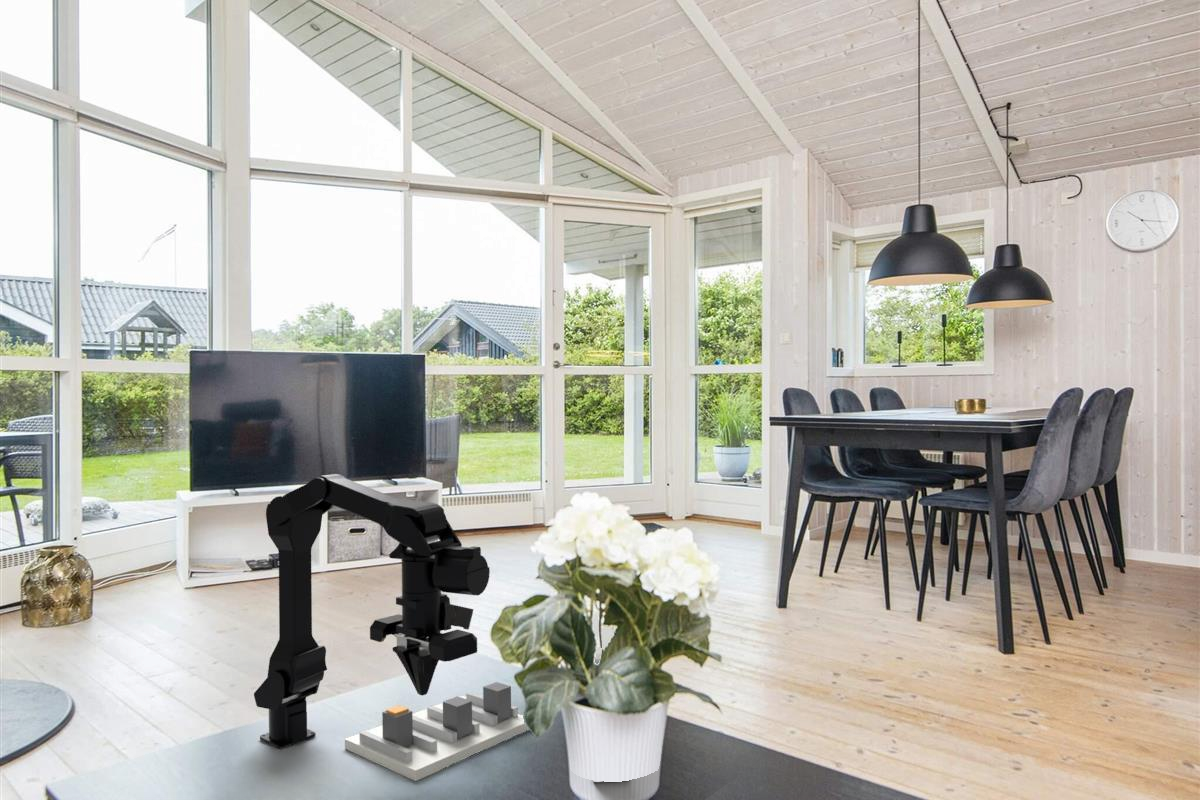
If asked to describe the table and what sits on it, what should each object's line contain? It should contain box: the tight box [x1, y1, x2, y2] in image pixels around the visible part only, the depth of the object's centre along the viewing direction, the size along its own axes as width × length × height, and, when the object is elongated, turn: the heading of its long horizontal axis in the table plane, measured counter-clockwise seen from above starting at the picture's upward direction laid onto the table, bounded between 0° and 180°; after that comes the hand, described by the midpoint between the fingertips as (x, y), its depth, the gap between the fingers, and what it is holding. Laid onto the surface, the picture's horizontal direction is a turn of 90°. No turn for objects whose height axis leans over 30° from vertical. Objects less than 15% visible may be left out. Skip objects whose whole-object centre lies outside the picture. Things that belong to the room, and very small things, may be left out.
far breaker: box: [482, 681, 512, 722], centre depth 135 cm, size 4×3×5 cm
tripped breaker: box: [381, 704, 413, 747], centre depth 124 cm, size 4×3×5 cm
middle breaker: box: [442, 696, 472, 739], centre depth 128 cm, size 4×3×5 cm
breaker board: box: [344, 691, 530, 782], centre depth 131 cm, size 18×24×3 cm
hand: (422, 694), depth 120 cm, fingers closed
